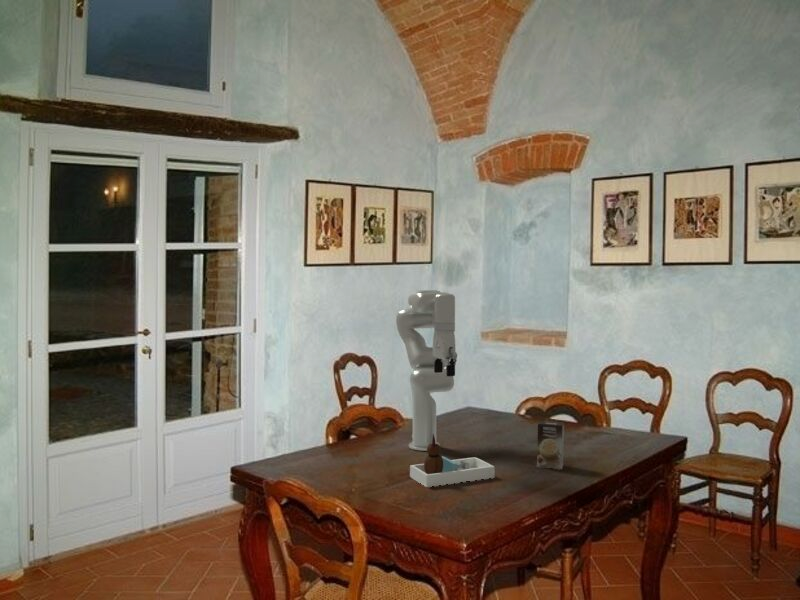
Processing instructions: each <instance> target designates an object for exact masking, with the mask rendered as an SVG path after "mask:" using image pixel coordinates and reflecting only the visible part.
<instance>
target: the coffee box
mask: <svg viewBox="0 0 800 600" xmlns="http://www.w3.org/2000/svg"><path fill="white" fill-rule="evenodd" d="M564 436H565V422H563V421H553V420H552V421H550V420H542V419H541V420H539V421H538V423H537V441H536V442H537V443H536V445H537V447H536V450H537V451H536V458H537V459H536V468H541V467H542V469H550V468H553V469H552V470H560V469H561V470H562V469H563V466H564V444H565V443H564V440H565V438H564Z"/></svg>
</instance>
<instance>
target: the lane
mask: <svg viewBox="0 0 800 600" xmlns="http://www.w3.org/2000/svg"><path fill="white" fill-rule="evenodd" d="M450 460H451V461H453V462H455V463H457V464H461V460H464V461H466V462H468V463H469V469H465V470H462V469H457V471H450V472H443V471H442V473H435V474H426V473H425V470H424V463H418V464H411V465H410V466H409V477H410V478H411V479H413V480H414V481H416V482H417V483H418V484H420V483H421V484H420V485H422V486H423V485H424V486H423V487H425V488H426V487H427V488H431V487H432V486H434V487H440V486H439V485H441V486H446V484H448V485H453V484H454V483H455V484H461V483H460V482H463V483H467V482H466V481H470V482H476V481H475V480H477V481H482V480H481V479H484V480H489V478H491V479H495V477H496V476H495V473H496V471H495V465H492V464H490V463H488V462H487V461H485V460H482V459H480V458H478V457H475V456H474V457H466V458H465V457H464V458H457V459H450Z"/></svg>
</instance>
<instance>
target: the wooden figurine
mask: <svg viewBox="0 0 800 600" xmlns="http://www.w3.org/2000/svg"><path fill="white" fill-rule="evenodd" d="M441 450H442V449H441V444H440V445H438V444H435V437H434V435H433V439H432V444H429V445H428V447H427V451H426V453H427V454H428V455H427V456H426V457H425V459H424V461H423V464H424V470H425V473H426V474H435V473H442V470H443V458H442V455H441Z"/></svg>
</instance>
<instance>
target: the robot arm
mask: <svg viewBox="0 0 800 600" xmlns="http://www.w3.org/2000/svg"><path fill="white" fill-rule="evenodd" d="M407 302H408V306H409V307H410V308H405V309H401V310H399V311H398V312H397V314H396V320H395V322H396V328H397V331H398V334H399V336H400V337H401V339H402V341H403V343H404V346H405V350H406V354H407V358H408V362H409V366H410V368H411V369H412V370H413V372H411V375H410V378H409V379H410V380H409V381H410V388H411V395H412V434H411V437H412V441H411V442H409V443H408V448H409V449H411V450H415V451H421V452H422V451H424V452H425V451H426V452H427V447H428V445H429V444H432V439H433V435H434V437H435V444H438V445H440V446H441V444H440V443H439V442H437V403H436V400H435V399H434V398H433V396H432V395H431V394H432V393H446V392H447V393H448V392H450V391H452V390H453V389H454V385H455V378H454V377H455V376H456V364H457V357H458V353H457V352H456V337H455V336H456V335H455V332H456V297H455V295H454V294H452V293H449V292H445V291H444V292H441V291H440V290H437V289H435V290H434V289H433V290H428V289H427V290H426V289H423V290H422V289H420V290H419V289H418V290H415V291H413V292H411V293H410V295H409V296H408V300H407ZM432 328H434V331H433V338H432V347H430V346H427V343H426V341H425V338H424V336H423V335H422V334H421V333H419V332H418V331H417V330H415V329H432Z"/></svg>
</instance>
